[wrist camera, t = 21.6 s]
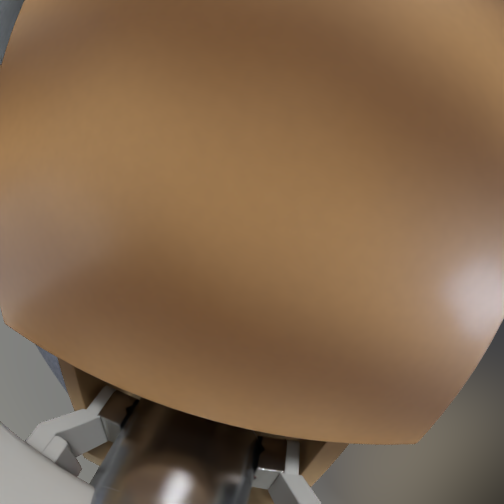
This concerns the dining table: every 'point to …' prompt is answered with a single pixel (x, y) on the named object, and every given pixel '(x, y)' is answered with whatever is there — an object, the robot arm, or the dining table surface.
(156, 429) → the tin
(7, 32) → the dining table surface
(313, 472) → the drawer
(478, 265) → the cabinet
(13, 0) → the dining table surface
